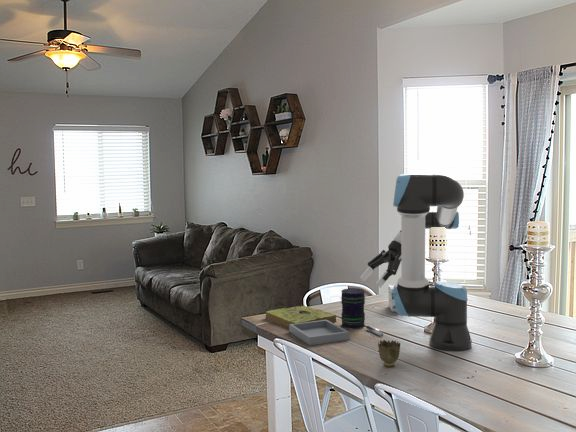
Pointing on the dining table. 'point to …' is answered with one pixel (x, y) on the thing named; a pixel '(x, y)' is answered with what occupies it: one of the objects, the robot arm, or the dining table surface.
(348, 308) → the storage jar
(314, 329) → the tray
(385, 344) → the cup
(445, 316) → the robot arm
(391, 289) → the light bulb box
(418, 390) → the dining table surface
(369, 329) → the rod
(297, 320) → the miniature landscape model
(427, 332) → the dining table surface
